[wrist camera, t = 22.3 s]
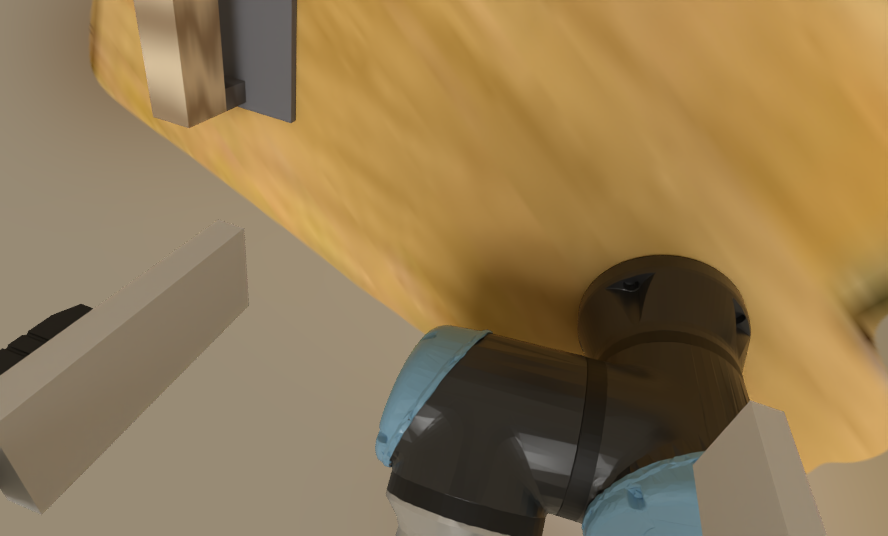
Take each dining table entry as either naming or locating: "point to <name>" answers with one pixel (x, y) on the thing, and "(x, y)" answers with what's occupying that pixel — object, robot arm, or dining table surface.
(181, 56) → the push tool
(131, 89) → the dining table surface
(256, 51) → the mat
